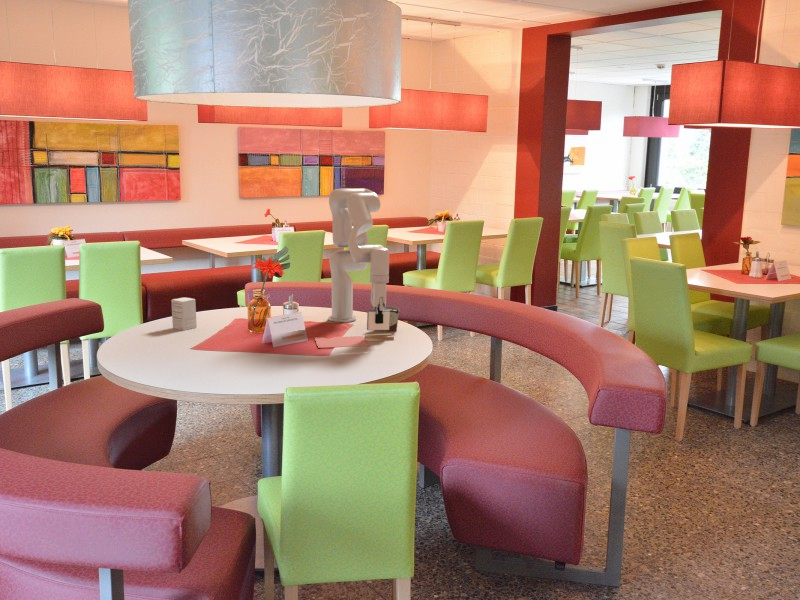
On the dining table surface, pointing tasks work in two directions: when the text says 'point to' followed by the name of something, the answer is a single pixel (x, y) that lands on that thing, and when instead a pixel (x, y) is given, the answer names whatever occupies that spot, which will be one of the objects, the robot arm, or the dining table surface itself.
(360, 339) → the mat
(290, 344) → the dining table surface
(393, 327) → the half round cake
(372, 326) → the grey square slab
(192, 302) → the supplement box
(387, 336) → the stand
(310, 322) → the dining table surface
